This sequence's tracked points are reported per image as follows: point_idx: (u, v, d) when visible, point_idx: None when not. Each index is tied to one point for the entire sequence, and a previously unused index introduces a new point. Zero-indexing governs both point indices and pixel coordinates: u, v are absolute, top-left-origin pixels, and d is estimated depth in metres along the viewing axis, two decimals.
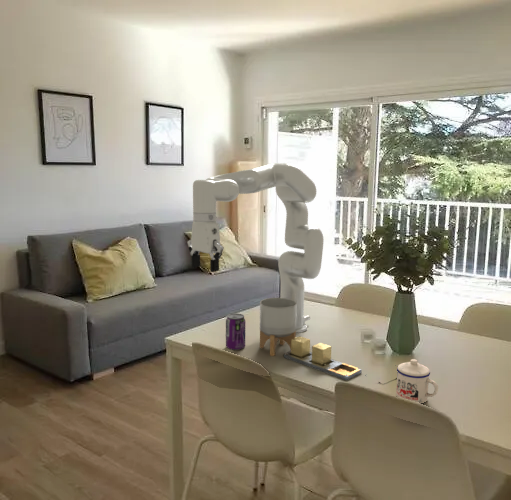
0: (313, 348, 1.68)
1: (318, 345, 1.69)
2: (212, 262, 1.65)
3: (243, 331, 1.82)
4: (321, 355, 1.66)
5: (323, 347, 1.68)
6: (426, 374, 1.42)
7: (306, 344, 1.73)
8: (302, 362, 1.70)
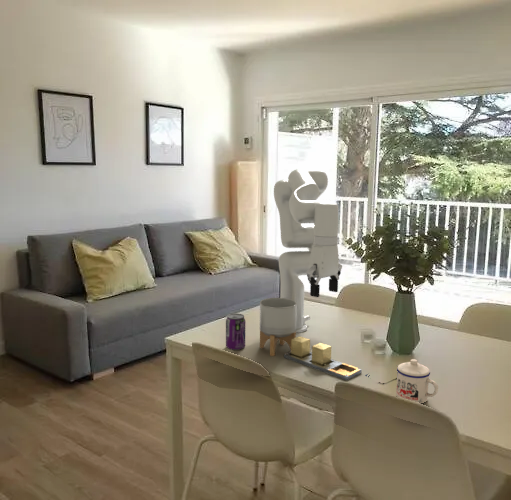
0: (313, 348, 1.68)
1: (318, 345, 1.69)
2: None
3: (243, 331, 1.82)
4: (321, 355, 1.66)
5: (323, 347, 1.68)
6: (426, 374, 1.42)
7: (306, 344, 1.73)
8: (302, 362, 1.70)
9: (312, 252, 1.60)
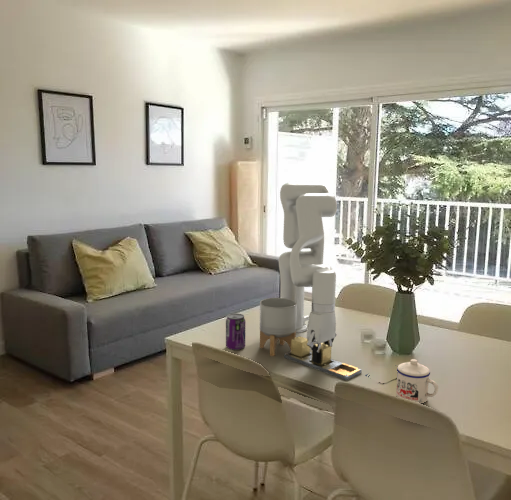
0: None
1: None
2: None
3: (243, 331, 1.82)
4: (321, 355, 1.66)
5: (323, 347, 1.68)
6: (426, 374, 1.42)
7: (306, 344, 1.73)
8: (302, 362, 1.70)
9: (310, 318, 1.64)
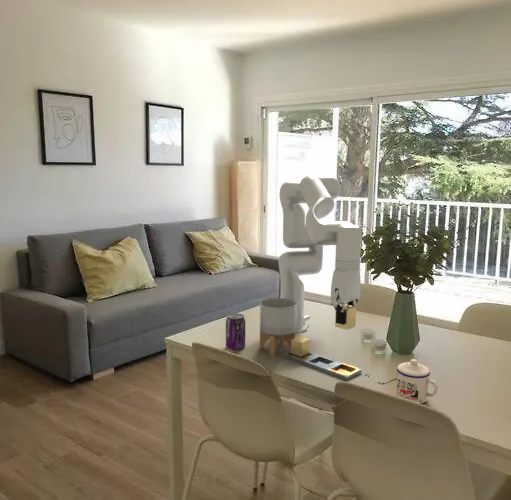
0: None
1: None
2: None
3: (243, 331, 1.82)
4: (345, 315, 1.57)
5: (347, 307, 1.59)
6: (426, 374, 1.42)
7: (306, 344, 1.73)
8: (302, 362, 1.70)
9: (334, 276, 1.56)
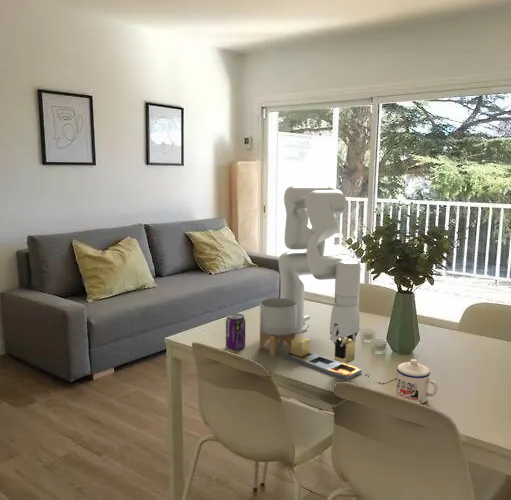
0: None
1: None
2: None
3: (243, 331, 1.82)
4: (345, 350, 1.59)
5: (346, 341, 1.61)
6: (426, 374, 1.42)
7: (306, 344, 1.73)
8: (302, 362, 1.70)
9: (333, 311, 1.57)
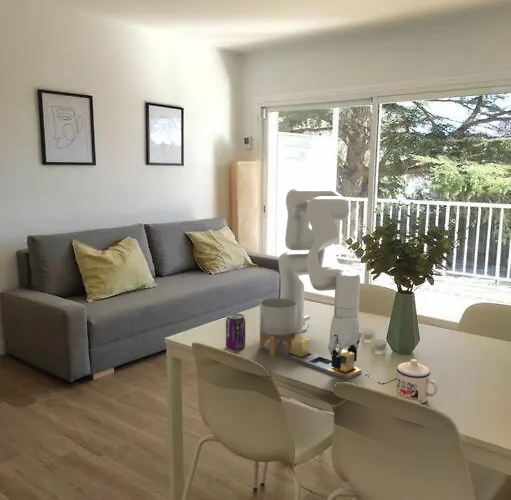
0: None
1: None
2: None
3: (243, 331, 1.82)
4: (344, 362, 1.60)
5: (345, 354, 1.61)
6: (426, 374, 1.42)
7: (306, 344, 1.73)
8: (302, 362, 1.70)
9: (333, 323, 1.58)
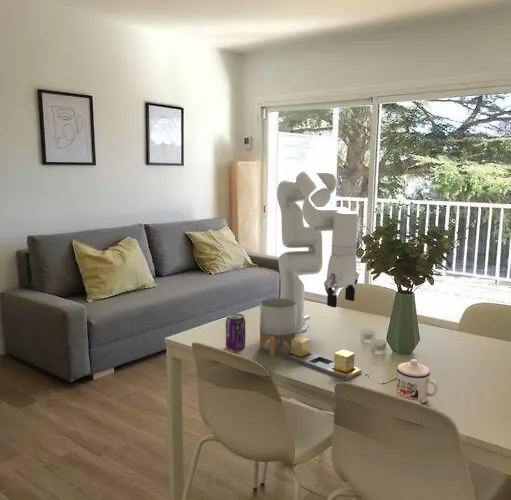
0: (335, 355, 1.62)
1: (340, 352, 1.63)
2: None
3: (243, 331, 1.82)
4: (344, 362, 1.60)
5: (345, 354, 1.61)
6: (426, 374, 1.42)
7: (306, 344, 1.73)
8: (302, 362, 1.70)
9: (330, 262, 1.57)
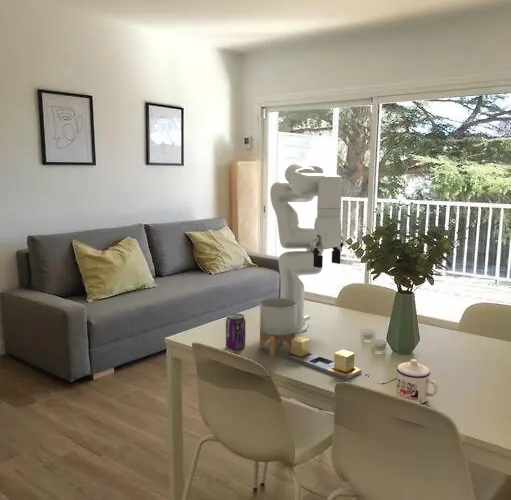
0: (335, 355, 1.62)
1: (340, 352, 1.63)
2: None
3: (243, 331, 1.82)
4: (344, 362, 1.60)
5: (345, 354, 1.61)
6: (426, 374, 1.42)
7: (306, 344, 1.73)
8: (302, 362, 1.70)
9: (315, 224, 1.63)
